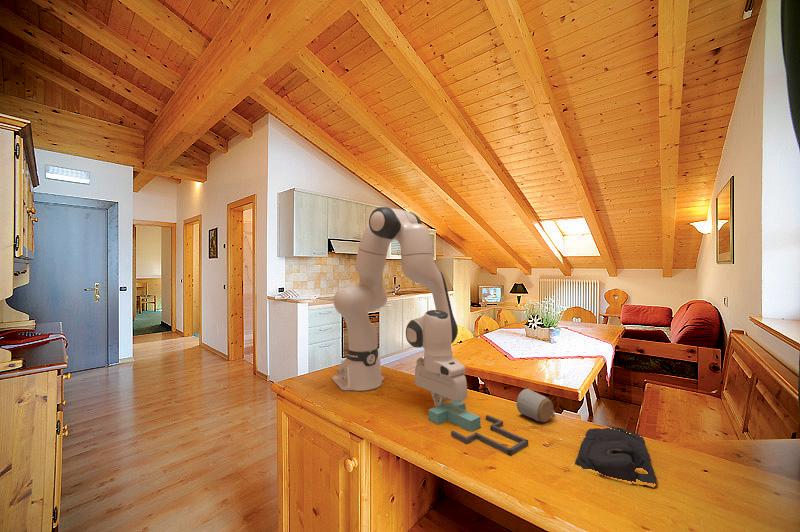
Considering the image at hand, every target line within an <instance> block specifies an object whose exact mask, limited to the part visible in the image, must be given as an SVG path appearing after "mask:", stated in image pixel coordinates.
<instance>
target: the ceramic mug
mask: <svg viewBox="0 0 800 532" xmlns="http://www.w3.org/2000/svg"><path fill="white" fill-rule="evenodd" d="M516 409H517V411H518V412H519V413H520V414H521V415H523V416H525V417H528V418H530V419H533V420H535V421H537V422H539V423H540V422H541V423H546V422H548V421H550V420H551V419H552V417H554V416H555V412H556V410H554V404H553V402H552V400H551V399H549V398H548V397H547V396H546V395H542V394H540V393H538V392H535V391H534V390H533V389H530V388H524V389H523V390H521V391H520V392H519V394H518V396H517V399H516ZM553 413H554V414H553Z"/></svg>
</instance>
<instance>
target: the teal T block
mask: <svg viewBox="0 0 800 532" xmlns="http://www.w3.org/2000/svg"><path fill="white" fill-rule="evenodd" d="M466 408H467V405H466V402H464V401H461V402H455V401H453V400H451V401H448V402H444V404H442V405H440V406H437V407H436V406H434V407H432V408H429V409H428V412H427V414H428V421H430V422H432V423H433V424H436V425H440V424H443V423H445V422H450V423H452V424H454V425H456V426H458V427H459V428H462V429H464V430H466V431H469V432H474V431H476V430H478V429H480V428H481V426H482V425H481V416H479V415H477V414H475V413H472V412H470V411H467V409H466ZM447 420H448V421H447Z"/></svg>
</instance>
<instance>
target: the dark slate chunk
mask: <svg viewBox="0 0 800 532" xmlns="http://www.w3.org/2000/svg"><path fill="white" fill-rule="evenodd" d="M610 428H612V429H610ZM614 429H615V430H614ZM619 430H620V431H619ZM626 432H627V433H626ZM629 433H631V434H629ZM585 436H586V437H585ZM585 436H584V437H585V438H584V437H583V440H582V442H581V443H580V447H579V450H578V453H577V456H576V458H575V463H574V464H575V465H577V466H578V467H580V466H581V467H582V468H583V469H592V470H595V471H598V472H599V473H601V474H603V475H606V476H609V477H613V478H617V479H622V480H627V481H631V482H632V481H634V482H636V479H638V480H640V481H642V482H647V483H653V484H654V483H655V484H656V482H657V481H658V479H657V476H656V472H655V470H654V468H653V465H652V463H651V461H652V459H651V455H650V453H649V451H648V448H647V445H646V441H645V439H644V437H643V436H642V435H641V434H639V433H635V432H633V431H630V430H627V429H624V428H623V427H605V428H589V429H588V430H587V431H586V432H585ZM640 436H641V437H640ZM581 467H580V468H581ZM582 468H581V469H582ZM636 468H643V469H644V470H646V471H647V472H648V474H645V473H640V472H639V471H635V469H636Z"/></svg>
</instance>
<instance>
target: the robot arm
mask: <svg viewBox="0 0 800 532" xmlns="http://www.w3.org/2000/svg"><path fill="white" fill-rule="evenodd" d="M393 241H397V242H398V243H399V246H400V257H401V258H400V260H401V261H400V262H401V269H402V272H403V274H404V275H405V277H406V278H408V279H409V280H411V281H412V282H414V283H416V284H419V285H422V286H425V287H426V288H427V289H429V291H430V292H431V294H432V296H433V297H432V298H433V302H434V303H433V304H434V307H435V309H431V310H428V311H426V312H425V313H424V315H422V316H420V317H418V318H414V319H410V320H409V322H408V323H407V325H406V327H405V338H406V341H407V343H409V345H411V347H413V348H418V349H419V348H420V349H421V348H423V349H424V353H423V355H424V356H423V357H424V358H423V357H419V358H417V359H416V366H415V370H414V383H415V386H417V387H419V388H422V389H424V390H427V391H429V392H430V394H431V398H432V399H433V403H434V404H433V406H434V407H437V406H440V405H442V404H445V403H446V401H447V399H449V400H451V401H455V402H464V401H465V400H466V399H467V398H468V383H467V378H466V375H465V374H464V373H466V366H465V365H464V364H462V363H461V362H460V361H459V360H457V359H456V358H455V357H453V351H452V344H453V343H454V341H455V340H456V339H457V336H458V334H459V328H458V324H457V321H456V319H455V317H454V313H453V309H452V305H451V301H450V296H449V291H448V287H447V283H446V279H445V276H444V274H443V273H442V271H440V270H439V269H438V267H437V265H436V262H435V258H434V249H433V242H432V237H431V234H430V231H429V228H428V227H427V226H426V225H424V224H423V223H422V220H421V218H420V217H419V216H418V215H417V214H415V213H413V212H411V211H407V210H404V209H401V208H392V207H388V206H380V207H377V208H375V209H374V210H373V211H372V212H371V214H370V216H369V219H368V224H367V225H366V226H365V228H364V231H363V233H362V236H361V239H360V242H359V246H358V249H357V255H356V259H355V263H354V268H355V271H356V272H357V274H358V276H359V283H358V284H357V285H350V286H349V285H348V286H345V287H343V288H341V289H338V290H337V291H336V292H335V294H334V297H333V306H334V308H335V310H336V312H338V313H339V314H340V315H341V317H342V318H343V320H344V322H345V325H346V328H347V341H348V348H346V349H345V350H346V351H345V352H346V356H345V359H343V361H342V362H340V363H339V364H338V368H337V370H336V371H337V374H336V375H334V376H332V379H333V380H332V379H331V380H332V381H333V382H334V383H335V384H336V386H337V387H338V388H339V389H340V390H341V391H357V392H358V391H359V392H361V391H362V392H363V391H364V392H365V391H371V390H374V389H377V388H379V387H380V386H382V385H383V381H384V380H385V376H383V375H382V366H381V365H382V364H381V360H380V359H379V348H378V347H379V346H378V342H377V340H378V335H377V326H375V325H374V324H373V323H372V322H371V320H370V316H369V312H375V311H378V310H379V309H382V307H384V306H385V305H386V304H387V302H388V293H387V290H386V288H385V287H384V279H383V278H384V269H385V265H386V260H387V257H388V250H389V247H390V244H391V243H392V242H393Z"/></svg>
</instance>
